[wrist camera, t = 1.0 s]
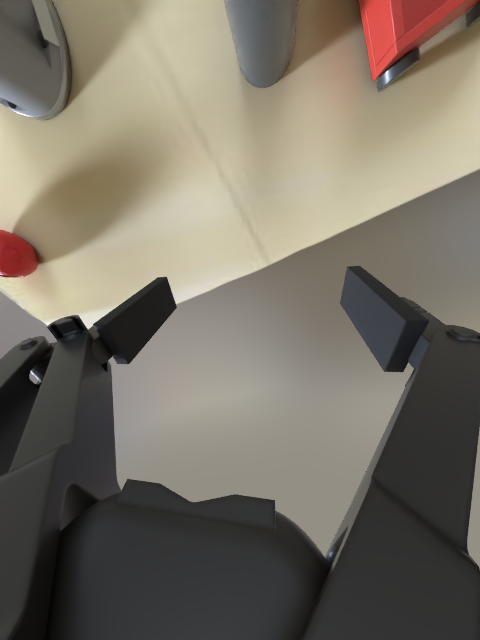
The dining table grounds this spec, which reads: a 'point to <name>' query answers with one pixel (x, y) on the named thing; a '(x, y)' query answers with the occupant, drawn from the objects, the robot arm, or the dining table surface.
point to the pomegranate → (16, 256)
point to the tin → (263, 37)
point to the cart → (406, 31)
